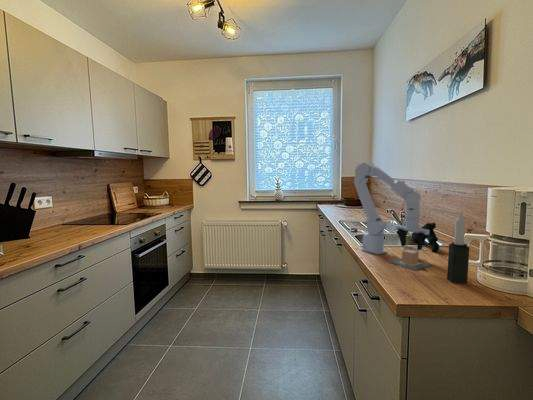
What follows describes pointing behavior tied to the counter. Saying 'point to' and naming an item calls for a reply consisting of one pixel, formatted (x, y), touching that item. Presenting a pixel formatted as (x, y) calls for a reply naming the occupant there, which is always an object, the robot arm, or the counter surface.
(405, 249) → the block cream
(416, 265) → the board
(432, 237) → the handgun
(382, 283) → the counter surface
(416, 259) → the block brown
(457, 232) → the black and grey bottle
